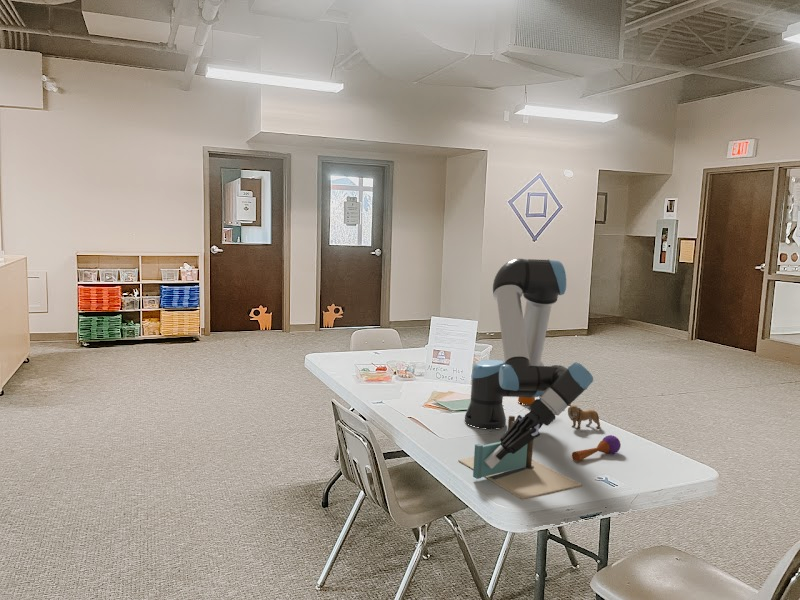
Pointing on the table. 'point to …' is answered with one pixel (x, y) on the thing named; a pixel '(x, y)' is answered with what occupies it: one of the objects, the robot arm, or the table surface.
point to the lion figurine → (582, 416)
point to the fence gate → (503, 465)
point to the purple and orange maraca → (599, 448)
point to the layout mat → (529, 480)
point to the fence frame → (529, 445)
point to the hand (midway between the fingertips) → (487, 464)
